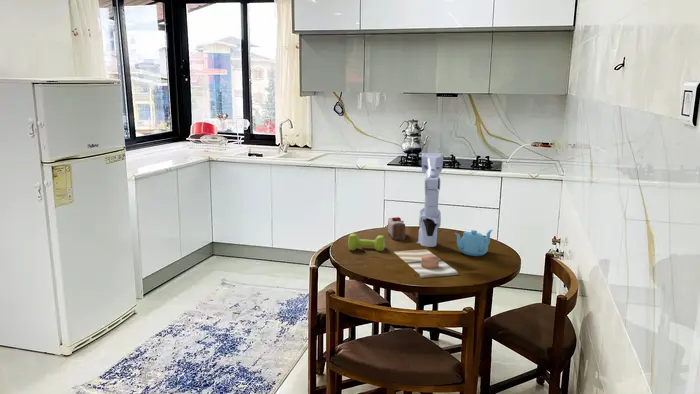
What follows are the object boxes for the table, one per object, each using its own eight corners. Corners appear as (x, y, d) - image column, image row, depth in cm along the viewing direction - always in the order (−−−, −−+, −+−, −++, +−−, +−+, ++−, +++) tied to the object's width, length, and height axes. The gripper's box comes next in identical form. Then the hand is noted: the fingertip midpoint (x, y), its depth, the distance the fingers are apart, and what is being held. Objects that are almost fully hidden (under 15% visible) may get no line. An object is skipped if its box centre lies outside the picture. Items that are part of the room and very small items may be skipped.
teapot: (460, 246, 243) (462, 225, 241) (493, 250, 237) (495, 229, 235) (453, 254, 230) (454, 232, 228) (487, 259, 224) (488, 236, 222)
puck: (418, 263, 213) (419, 255, 213) (434, 262, 215) (434, 254, 214) (425, 269, 207) (425, 261, 206) (441, 268, 208) (441, 260, 208)
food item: (385, 232, 264) (386, 214, 262) (401, 232, 265) (401, 213, 263) (391, 240, 251) (392, 220, 249) (407, 240, 252) (408, 220, 250)
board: (393, 253, 230) (393, 251, 229) (426, 251, 234) (426, 249, 234) (420, 277, 200) (420, 275, 200) (458, 274, 204) (458, 272, 204)
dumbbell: (346, 251, 232) (347, 236, 231) (350, 246, 240) (350, 231, 238) (383, 254, 229) (383, 238, 227) (385, 249, 237) (386, 234, 235)
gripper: (416, 202, 228) (414, 231, 231) (429, 209, 214) (428, 240, 217) (430, 201, 230) (429, 231, 232) (445, 208, 216) (443, 239, 219)
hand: (429, 235), depth 225 cm, fingers closed
